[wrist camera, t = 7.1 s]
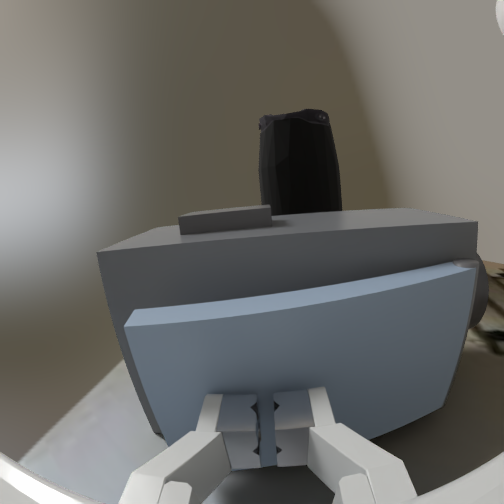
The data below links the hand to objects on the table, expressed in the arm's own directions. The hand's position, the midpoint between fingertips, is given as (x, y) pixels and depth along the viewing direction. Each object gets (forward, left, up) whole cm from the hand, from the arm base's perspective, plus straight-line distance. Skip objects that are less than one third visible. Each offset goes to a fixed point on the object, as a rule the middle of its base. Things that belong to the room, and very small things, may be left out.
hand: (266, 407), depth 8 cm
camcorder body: (-6, -4, -5) cm, 9 cm away
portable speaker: (-18, -17, -6) cm, 26 cm away
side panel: (-3, 0, -4) cm, 5 cm away
